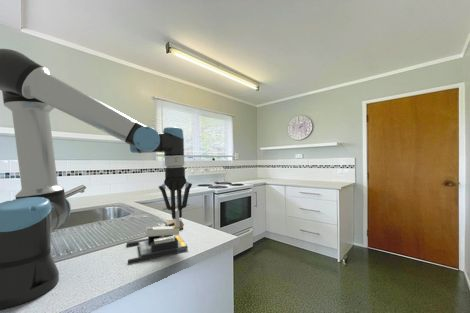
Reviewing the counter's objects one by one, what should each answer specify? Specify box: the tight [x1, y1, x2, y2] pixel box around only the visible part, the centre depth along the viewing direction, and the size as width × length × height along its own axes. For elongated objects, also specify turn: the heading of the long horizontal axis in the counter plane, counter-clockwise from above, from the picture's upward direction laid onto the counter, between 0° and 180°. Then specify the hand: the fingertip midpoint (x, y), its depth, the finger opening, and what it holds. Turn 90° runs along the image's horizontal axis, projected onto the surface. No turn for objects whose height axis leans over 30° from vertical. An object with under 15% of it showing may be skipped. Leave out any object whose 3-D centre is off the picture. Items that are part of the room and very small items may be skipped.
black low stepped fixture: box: [126, 237, 178, 265], centre depth 82 cm, size 18×18×1 cm
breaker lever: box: [144, 226, 180, 237], centre depth 82 cm, size 12×3×3 cm, turn 118°
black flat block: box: [137, 234, 189, 257], centre depth 82 cm, size 16×13×5 cm
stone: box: [164, 218, 185, 230], centre depth 107 cm, size 8×10×4 cm
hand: (177, 226), depth 85 cm, fingers closed
